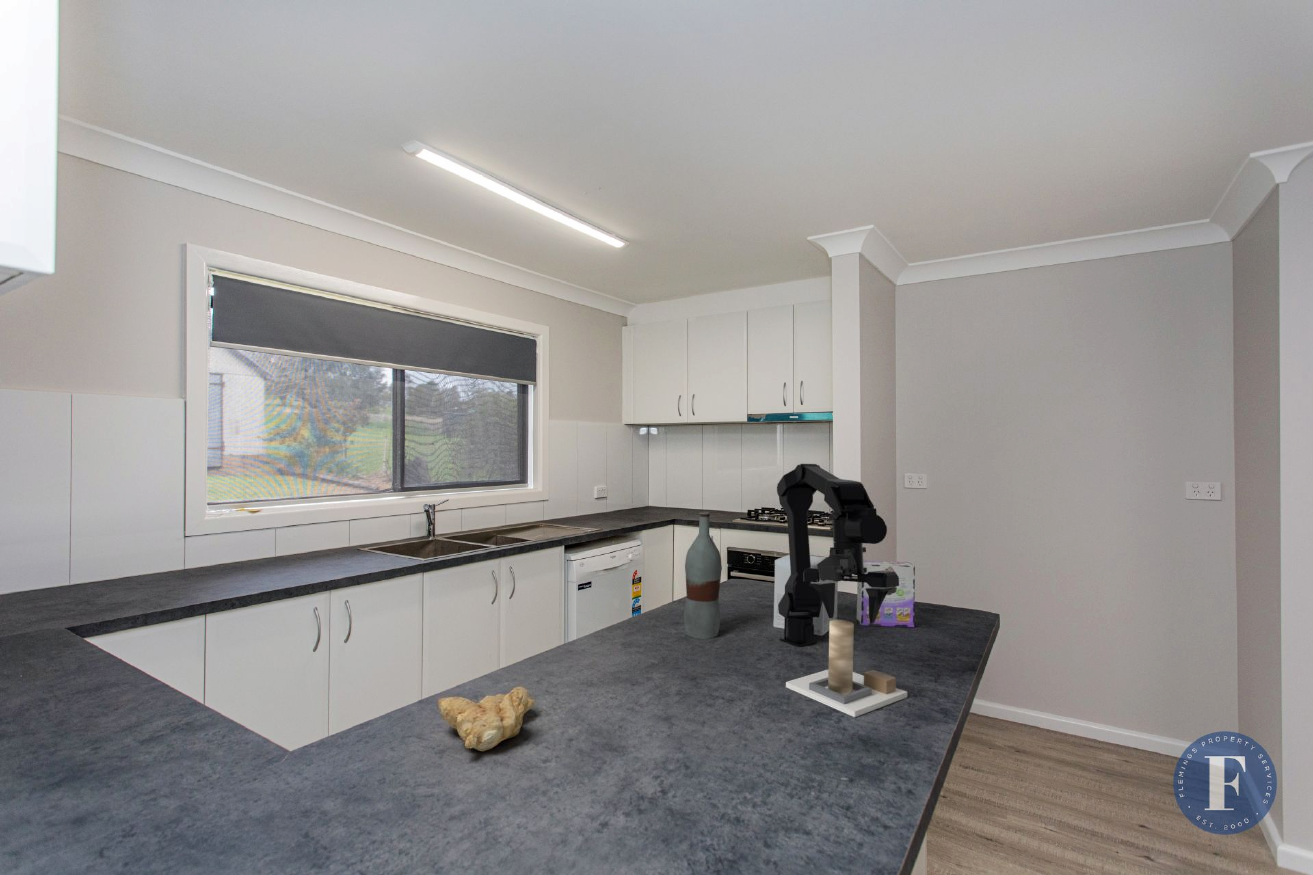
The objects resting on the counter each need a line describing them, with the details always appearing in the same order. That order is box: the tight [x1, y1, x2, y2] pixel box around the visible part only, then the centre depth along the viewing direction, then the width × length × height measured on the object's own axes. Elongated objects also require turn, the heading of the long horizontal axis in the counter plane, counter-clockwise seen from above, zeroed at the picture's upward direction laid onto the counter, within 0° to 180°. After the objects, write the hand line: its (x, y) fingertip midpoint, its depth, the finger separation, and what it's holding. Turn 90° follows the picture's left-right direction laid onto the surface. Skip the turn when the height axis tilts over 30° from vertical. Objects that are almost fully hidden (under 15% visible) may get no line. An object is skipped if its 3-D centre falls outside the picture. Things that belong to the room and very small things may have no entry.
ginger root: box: [437, 686, 536, 752], centre depth 101 cm, size 16×16×8 cm
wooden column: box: [827, 619, 855, 695], centre depth 120 cm, size 4×4×13 cm
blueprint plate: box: [785, 669, 908, 718], centre depth 122 cm, size 16×16×4 cm
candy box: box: [856, 560, 916, 628], centre depth 170 cm, size 14×6×16 cm, turn 84°
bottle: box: [683, 511, 723, 640], centre depth 157 cm, size 9×9×30 cm
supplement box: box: [772, 553, 839, 636], centre depth 166 cm, size 13×13×18 cm
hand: (851, 620), depth 128 cm, fingers open, 9 cm apart
